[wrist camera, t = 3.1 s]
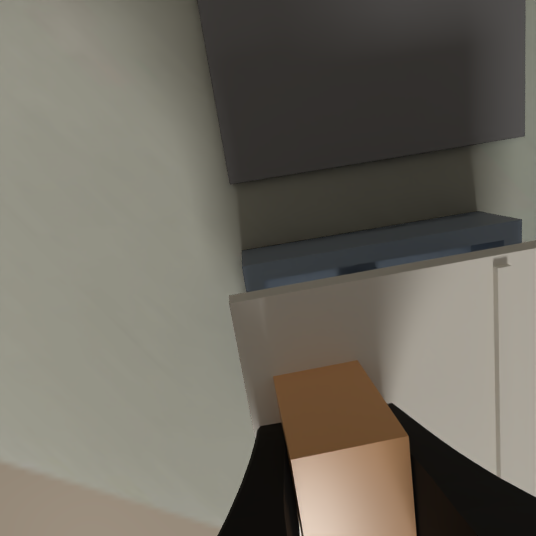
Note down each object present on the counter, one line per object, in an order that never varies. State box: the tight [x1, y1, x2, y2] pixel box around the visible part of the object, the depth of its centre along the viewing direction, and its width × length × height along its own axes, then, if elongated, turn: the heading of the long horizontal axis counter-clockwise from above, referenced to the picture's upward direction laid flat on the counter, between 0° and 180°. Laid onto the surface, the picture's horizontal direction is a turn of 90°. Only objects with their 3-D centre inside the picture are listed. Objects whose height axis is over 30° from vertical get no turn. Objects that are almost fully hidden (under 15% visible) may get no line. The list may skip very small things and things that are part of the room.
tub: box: [242, 211, 522, 292], centre depth 18 cm, size 11×8×3 cm
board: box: [197, 0, 525, 184], centre depth 16 cm, size 13×9×1 cm
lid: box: [229, 240, 536, 536], centre depth 11 cm, size 12×9×5 cm
